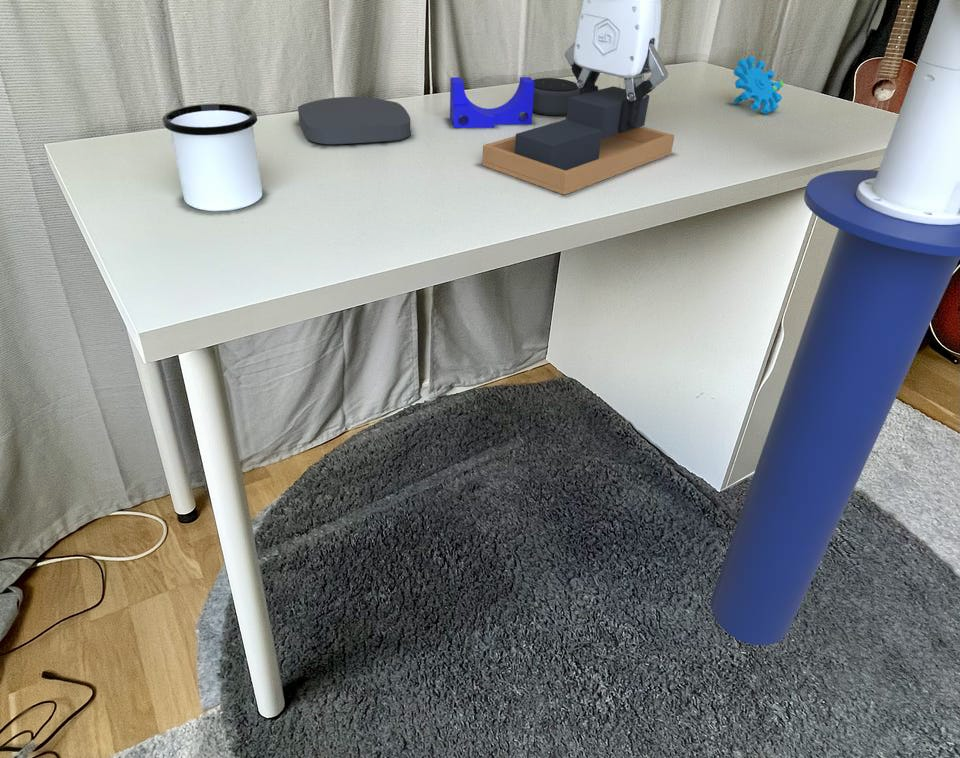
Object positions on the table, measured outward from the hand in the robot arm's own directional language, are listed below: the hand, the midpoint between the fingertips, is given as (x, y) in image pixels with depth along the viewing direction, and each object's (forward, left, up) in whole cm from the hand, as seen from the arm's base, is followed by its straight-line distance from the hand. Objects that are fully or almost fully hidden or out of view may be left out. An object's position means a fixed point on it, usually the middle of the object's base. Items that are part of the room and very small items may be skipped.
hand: (606, 122), depth 98 cm
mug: (+19, +47, -4) cm, 51 cm away
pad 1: (0, +10, -3) cm, 11 cm away
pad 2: (0, 0, -1) cm, 1 cm away
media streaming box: (+29, +20, -4) cm, 36 cm away
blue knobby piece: (-3, -39, -4) cm, 39 cm away
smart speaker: (+18, -11, -4) cm, 21 cm away
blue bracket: (+19, +2, -4) cm, 19 cm away
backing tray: (0, +5, -4) cm, 7 cm away
